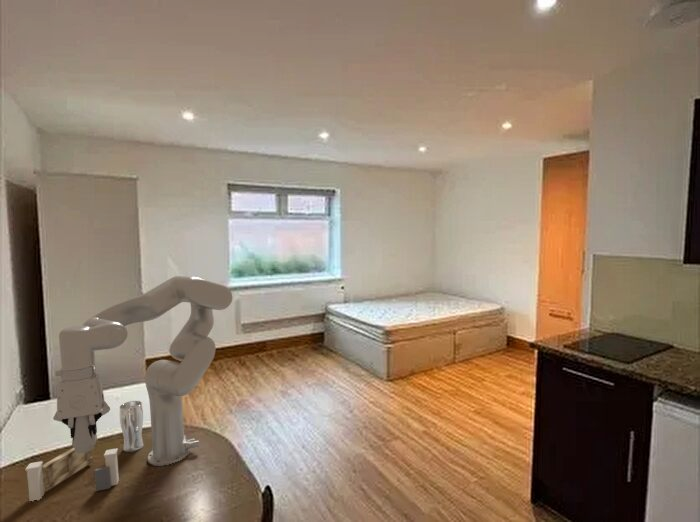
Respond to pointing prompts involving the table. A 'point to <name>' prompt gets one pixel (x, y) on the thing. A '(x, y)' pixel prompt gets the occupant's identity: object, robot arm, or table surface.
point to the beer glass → (132, 425)
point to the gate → (64, 467)
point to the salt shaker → (83, 435)
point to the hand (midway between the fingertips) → (84, 437)
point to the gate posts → (102, 475)
